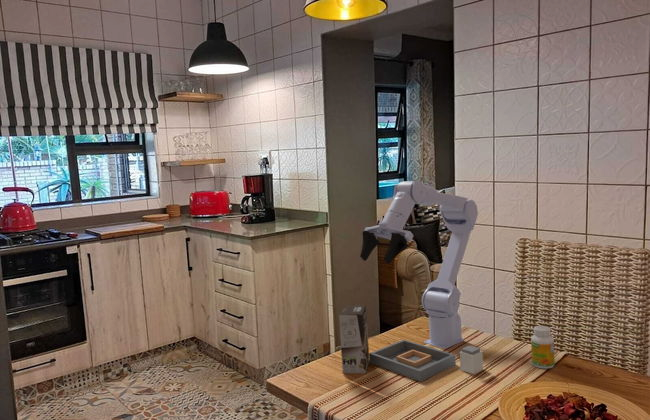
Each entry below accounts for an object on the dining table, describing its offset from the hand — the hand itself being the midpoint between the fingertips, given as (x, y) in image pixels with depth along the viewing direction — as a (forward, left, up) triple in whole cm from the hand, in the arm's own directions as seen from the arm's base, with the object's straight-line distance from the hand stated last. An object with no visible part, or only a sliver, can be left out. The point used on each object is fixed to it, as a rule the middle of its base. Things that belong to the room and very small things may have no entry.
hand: (374, 260), depth 129 cm
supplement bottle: (-32, +27, -30) cm, 51 cm away
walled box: (-10, +2, -30) cm, 32 cm away
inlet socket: (-12, +1, -30) cm, 32 cm away
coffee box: (+1, -8, -30) cm, 31 cm away
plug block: (-17, +16, -30) cm, 38 cm away
